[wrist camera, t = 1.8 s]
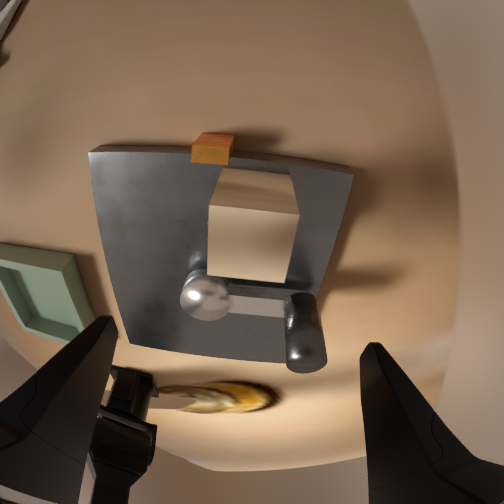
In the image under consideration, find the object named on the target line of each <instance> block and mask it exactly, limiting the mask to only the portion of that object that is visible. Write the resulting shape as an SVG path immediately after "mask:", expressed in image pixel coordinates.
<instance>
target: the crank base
mask: <svg viewBox="0 0 504 504" xmlns="http://www.w3.org/2000/svg"><path fill="white" fill-rule="evenodd" d="M234 136H235V135H225V134H212V133H202V134H201V135H200V136H199V137H198V139H197V140H196V141H195V142H194V143H193V144H192V147H177V146H143V145H116V146H98V147H96V148H95V149H93V150H91V151H90V152H88V153H89V163H90V172H91V180H92V188H93V195H94V201H95V208H96V214H97V219H98V225H99V230H100V235H101V240H102V245H103V249H104V254H105V258H106V263H107V267H108V271H109V275H110V279H111V283H112V286H113V290H114V294H115V297H116V301H117V304H118V308H119V311H120V314H121V318H122V321H123V324H124V327H125V330H126V333H127V336H128V339H129V342H130V344H135V345H140V346H145V347H150V348H156V349H162V350H167V351H174V352H180V353H187V354H194V355H201V356H209V357H217V358H226V359H235V360H246V361H258V362H271V363H286V346H285V327H284V317H271V316H260V315H250V314H240V313H230V312H228V313H227V314H226V315H225V316H224V317H222V318H220V319H217V320H212V321H206V320H200V319H197V318H194V317H192V316H190V315H189V314H188V313H186V312H185V311H184V309H183V308H182V306H181V304H180V296H181V293H182V289H183V286H184V283H185V280H186V277H187V276H188V275H189V274H190V273H191V272H193V271H195V270H198V269H207V255H208V219H209V204H210V201H211V198H212V196H213V193H214V190H215V188H216V185H217V182H218V180H219V177H220V174H221V172H222V169H223V168H232V169H242V170H251V171H260V172H268V173H276V174H284V175H290V176H291V180H292V184H293V188H294V192H295V197H296V201H297V205H298V210H299V214H300V216H299V221H298V225H297V230H296V235H295V239H294V243H293V248H292V252H291V257H290V261H289V265H288V270H287V274H286V278H285V282H284V283H279V282H269V281H259V280H249V279H240V278H230V277H227V278H228V280H229V281H230V283H231V284H240V285H250V286H259V287H270V288H280V289H291V290H302V291H305V292H307V293H310V294H312V295H314V296H315V297H316V298H317V296H318V293H319V290H320V287H321V284H322V281H323V279H324V276H325V273H326V270H327V267H328V264H329V260H330V257H331V254H332V251H333V248H334V245H335V242H336V238H337V235H338V232H339V228H340V225H341V222H342V218H343V215H344V211H345V208H346V204H347V201H348V197H349V194H350V190H351V186H352V182H353V179H354V174H353V172H352V171H351V170H350V169H349V167H346V166H341V165H335V164H330V163H324V162H318V161H312V160H306V159H300V158H293V157H286V156H278V155H271V154H263V153H254V152H245V151H235V150H233V146H234Z"/></svg>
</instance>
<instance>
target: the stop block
mask: <svg viewBox="0 0 504 504" xmlns="http://www.w3.org/2000/svg"><path fill="white" fill-rule="evenodd" d="M299 216H300V214H299V210H298V205H297V201H296V197H295V192H294V188H293V184H292V180H291V176H290V175H284V174H276V173H268V172H260V171H251V170H242V169H232V168H223V169H222V172H221V174H220V177H219V180H218V182H217V185H216V188H215V190H214V193H213V196H212V198H211V201H210V204H209V219H208V255H207V275H212V276H221V277H230V278H240V279H249V280H259V281H269V282H279V283H284V282H285V278H286V274H287V270H288V265H289V261H290V257H291V252H292V248H293V243H294V239H295V235H296V230H297V225H298V221H299Z"/></svg>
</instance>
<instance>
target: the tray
mask: <svg viewBox="0 0 504 504" xmlns="http://www.w3.org/2000/svg"><path fill="white" fill-rule="evenodd" d="M0 289H1V291H2V293H3V295H4V297H5V299H6V300H7V302H8V304H9V306H10V308H11V310H12V311H13V313H14V315H15V317H16V318H17V320H18V322H19V324H20V325H21V327H22V328H23V330H25V331H28V332H30V333H33V334H36V335H39V336H42V337H45V338H48V339H51V340H54V341H57V342H60V343H63V344H68V343H69V342H70V341H71V340H72V339H74V338H75V337H76V336H77V335H78V334H79V333H80V332H82V331H83V330H84V329H85V328H86V327H87V326H89V325H90V324H91V323H92V322H93V321H94V320H96V317H95V315H94V312H93V310H92V307H91V304H90V302H89V299H88V296H87V293H86V290H85V287H84V284H83V281H82V278H81V275H80V272H79V269H78V266H77V262H76V259H75V255H74V254H69V253H62V252H55V251H49V250H42V249H36V248H30V247H23V246H17V245H11V244H5V243H0Z"/></svg>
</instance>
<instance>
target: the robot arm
mask: <svg viewBox="0 0 504 504" xmlns="http://www.w3.org/2000/svg"><path fill="white" fill-rule="evenodd" d="M117 338H118V330H117V327H116V324H115V321H114V318H113V317H112V316H109V315H104V314H103V315H100V316H99V317H98V318H97V319H96V320H94V321H93V322H92V323H91V324H90V325H89V326H87V327H86V328H85V329H84V330H83V331H82V332H80V333H79V334H78V335H77V336H76V337H75V338H74V339H72V340H71V341H70V342H69V343H68V344H67V345H66V346H64V347H63V348H62V349H61V350H60V351H59V352H58V353H57V354H56V355H54V356H53V357H52V358H51V359H50V360H49V361H48V362H47V363H46V364H45V365H43V366H42V367H41V368H40V369H39V370H38V371H37V372H36V373H35V374H34V375H33V376H32V377H30V378H29V379H28V380H27V381H26V382H25V383H24V384H23V385H22V386H20V387H19V388H18V389H17V390H15V391H14V392H13V393H12V394H11V395H9V396H8V397H7V398H5V399H4V400H3V401H1V402H0V504H56V503H57V504H78V500H79V495H80V489H81V484H82V478H83V473H84V469H85V463H86V461H87V464H88V466H89V469H90V472H91V474H92V477H93V479H94V483H93V487H92V493H91V498H90V504H128V498H129V491H130V487H131V486H132V485H133V484H134V483H135V482H136V481H137V480H138V479H139V478H140V477H141V476H142V475H143V474H144V473H145V472H146V471H147V466H150V464H151V463H152V460H153V457H154V452H155V443H156V433H157V425H155V424H150V423H147V422H145V421H146V416H147V412H148V408H149V404H150V400H151V397H159V393H158V390H157V387H156V385H155V382H154V379H153V376H151V375H149V374H144V373H139V372H135V371H130V370H126V369H121V368H117V367H113V366H112V361H113V356H114V352H115V347H116V342H117ZM109 374H111V375H112V377H113V379H114V382H113V385H112V388H111V391H110V394H109V397H108V400H107V404H106V406H104V405H101V401H102V397H103V394H104V391H105V388H106V384H107V381H108V378H109ZM360 392H361V405H362V413H363V422H364V432H365V442H366V455H367V468H368V487H369V504H504V466H503V465H499V464H495V463H492V462H488V461H485V460H481V459H479V458H477V457H475V456H474V455H473V454H472V453H470V452H469V450H468V449H466V447H465V446H464V445H463V444H462V443H461V442H460V441H459V440H458V439H457V438H456V436H455V435H454V434H453V433H452V432H451V431H450V430H449V428H448V427H447V426H446V425H445V424H444V423H443V421H442V420H441V419H440V417H439V416H438V415H437V413H436V412H435V411H434V410H433V408H432V407H431V406H430V404H429V403H428V402H427V400H426V399H425V398H424V397H423V395H422V394H421V393H420V391H419V390H418V389H417V388H416V386H415V385H414V384H413V383H412V381H411V380H410V379H409V378H408V376H407V375H406V374H405V373H404V371H403V370H402V369H401V368H400V366H399V365H398V364H397V363H396V361H395V360H394V359H393V358H392V356H391V355H390V354H389V353H388V352H387V350H386V349H385V348H384V347H383V345H382V344H381V343H379V342H370V343H369V344H368V345H367V346H366V348H365V349H364V351H363V352H362V354H361V356H360ZM97 416H99V418H97ZM100 417H101V418H100Z"/></svg>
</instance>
